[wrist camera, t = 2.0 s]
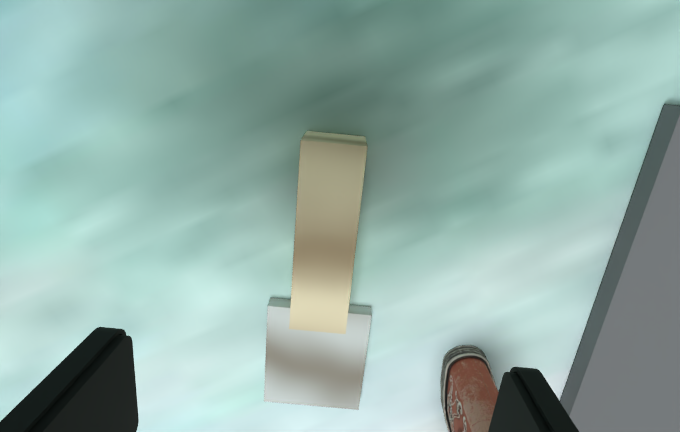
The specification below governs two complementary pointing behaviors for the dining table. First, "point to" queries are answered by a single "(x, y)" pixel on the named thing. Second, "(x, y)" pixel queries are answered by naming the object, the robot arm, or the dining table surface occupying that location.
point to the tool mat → (637, 308)
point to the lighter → (467, 390)
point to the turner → (321, 283)
